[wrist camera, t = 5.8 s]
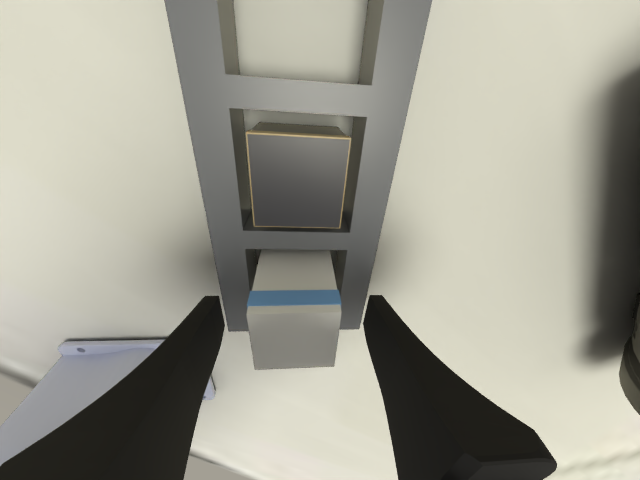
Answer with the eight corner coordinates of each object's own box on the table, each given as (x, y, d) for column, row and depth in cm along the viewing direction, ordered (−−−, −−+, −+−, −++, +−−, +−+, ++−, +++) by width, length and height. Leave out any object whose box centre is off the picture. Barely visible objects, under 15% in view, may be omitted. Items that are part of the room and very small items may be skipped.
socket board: (236, 302, 17) (225, 343, 14) (163, -181, 7) (77, -349, 4) (352, 301, 18) (361, 340, 15) (432, -136, 8) (503, -254, 5)
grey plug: (267, 281, 16) (253, 370, 11) (263, 232, 14) (245, 313, 9) (323, 280, 17) (335, 367, 12) (327, 233, 15) (343, 311, 10)
